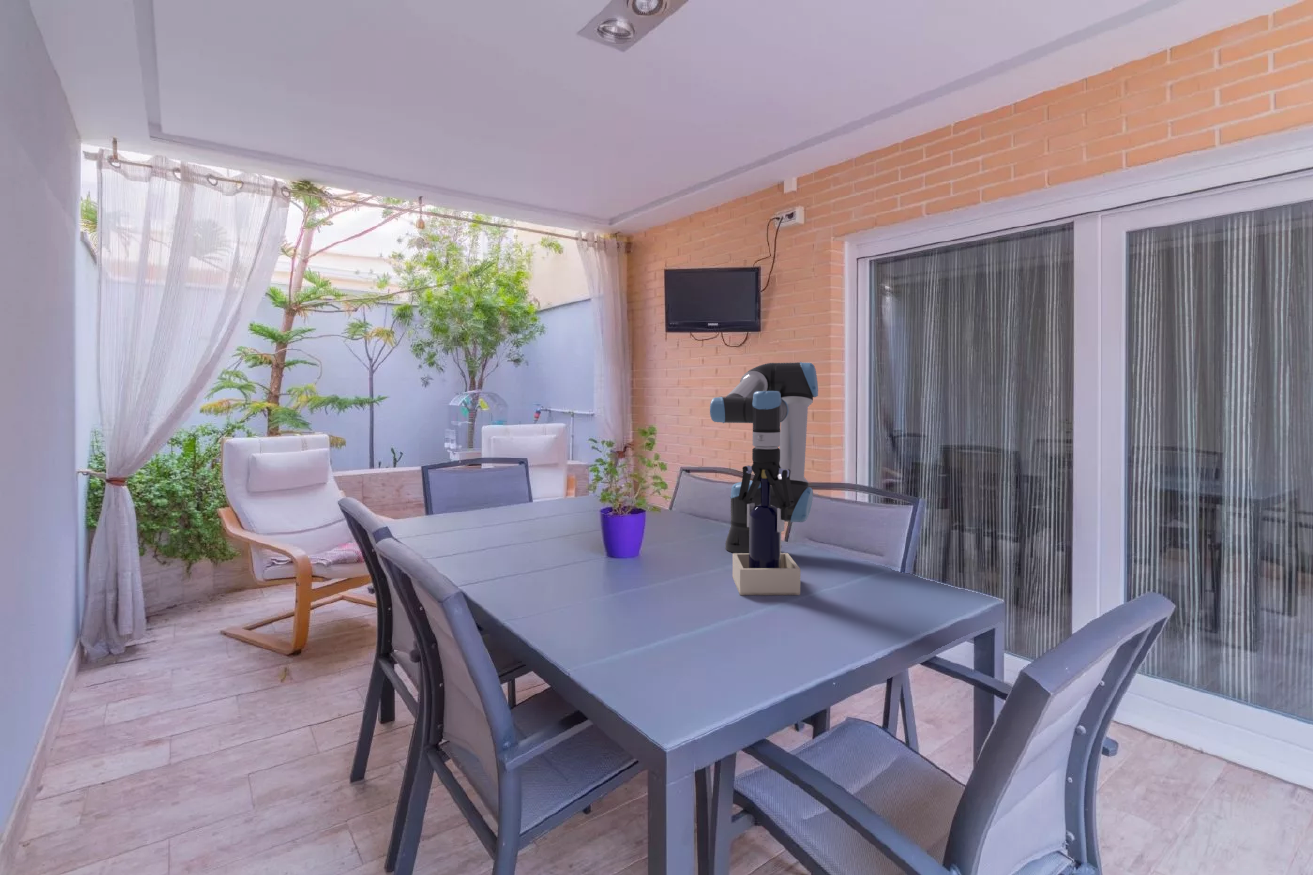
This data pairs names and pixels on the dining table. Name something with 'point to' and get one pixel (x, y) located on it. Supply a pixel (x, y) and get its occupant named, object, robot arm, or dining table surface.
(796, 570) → the bin
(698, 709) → the dining table surface
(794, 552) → the dining table surface
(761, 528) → the bottle
